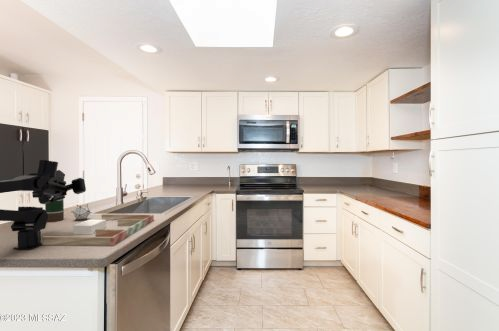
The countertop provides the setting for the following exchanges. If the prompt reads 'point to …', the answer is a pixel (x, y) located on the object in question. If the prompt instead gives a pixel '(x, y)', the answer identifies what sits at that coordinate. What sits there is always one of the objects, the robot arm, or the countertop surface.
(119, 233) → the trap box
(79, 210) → the geometric wire polyhedron
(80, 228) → the white rectangular box
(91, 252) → the countertop surface
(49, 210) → the beer bottle
